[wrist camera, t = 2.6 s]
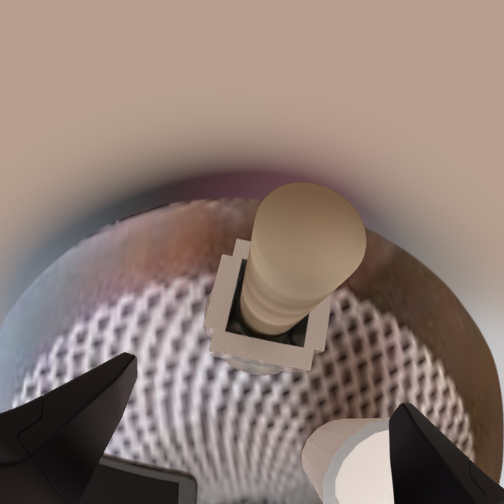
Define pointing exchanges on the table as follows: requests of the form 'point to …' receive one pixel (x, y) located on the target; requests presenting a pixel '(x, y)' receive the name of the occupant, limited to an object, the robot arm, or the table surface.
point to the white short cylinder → (350, 461)
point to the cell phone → (137, 485)
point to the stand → (252, 349)
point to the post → (297, 256)
